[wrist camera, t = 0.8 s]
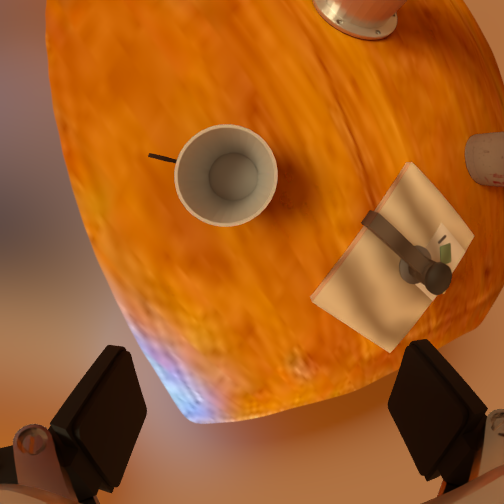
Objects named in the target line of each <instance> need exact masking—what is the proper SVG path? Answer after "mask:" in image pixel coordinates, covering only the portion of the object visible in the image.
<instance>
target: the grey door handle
mask: <svg viewBox="0 0 504 504" xmlns="http://www.w3.org/2000/svg"><path fill="white" fill-rule="evenodd" d="M361 223H362V224H363V225H364V226H365V227H366V228H368V229H369V230H370V231H371V232H372V233H373V234H375V235H376V236H377V237H378V238H379V239H380V240H381V241H383V242H384V243H385V244H386V245H387V246H388V247H389V248H390V249H392V250H393V251H394V252H395V253H396V254H397V255H398V256H399V257H400V258H401V259H403V260H404V261H405V262H406V263H407V264H408V265H409V267H408V270H409V274H410V275H411V276H412V277H413V278H415V279H416V280H418V281H419V282H420V283H422V284H423V285H425V287H426V289H427V290H428V291H429V292H430V293H432V294H434V295H439V294H444V293H445V292H446V289H447V288H448V287H449V285H450V282H451V279H452V272H451V269H450V267H449V266H448V265H446V264H444V263H442V262H435V261H433V260H431V259H429V258H427V257H425V256H423V255H422V254H421V253H420V252H419V251H418V250H417V249H416V248H415V247H414V246H413V245H412V244H411V243H410V242H409V241H408V240H407V239H406V238H405V237H404V236H403V235H402V234H401V233H400V232H399V231H398V230H397V229H396V228H395V227H394V226H393V225H392V224H390V223H389V222H388V221H387V220H386V219H385V218H384V217H383V216H382V215H381V214H379V213H378V212H374V211H371V210H370V211H369V212H368V214H367V215H366V217H365V218H364V219H363V221H362V222H361Z"/></svg>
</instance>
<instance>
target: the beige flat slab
mask: <svg viewBox="0 0 504 504" xmlns="http://www.w3.org/2000/svg"><path fill="white" fill-rule="evenodd" d="M374 212H378V213H379V214H381V215H382V216H383V217H384V218H385V219H386V220H387V221H388V222H389V223H390V224H392V225H393V226H394V227H395V228H396V229H397V230H398V231H399V232H400V233H401V234H402V235H403V236H404V237H405V238H406V239H407V240H408V241H409V242H410V243H411V244H412V245H413V246H414V247H415V248H416V249H417V250H418V251H419V252H420V253H421V254H422V255H423V256H425V257H427V258H429V259H431V260H433V261H435V262H442V263H444V264H446V265H448V266H449V267H450V269H451V272H452V273H453V271H454V270H455V268H456V267H457V265H458V263H459V262H460V260H461V259H462V257H463V255H464V254H465V251H466V250H467V248H468V246H469V244H470V243H471V241H472V239H473V237H474V235H473V233H472V232H471V230H470V229H469V228H468V226H467V225H466V224H465V222H464V221H463V220H462V219H461V217H460V216H459V215H458V213H457V212H456V211H455V210H454V208H453V207H452V206H451V205H450V204H449V202H448V201H447V200H446V199H445V198H444V196H443V195H442V194H441V193H440V192H439V191H438V189H437V188H436V187H435V186H434V185H433V184H432V183H431V182H430V180H429V179H428V178H427V177H426V176H425V175H424V174H423V173H422V172H421V171H420V170H419V169H418V168H417V167H416V166H415V164H414V163H413V162H406V164H405V165H404V167H403V168H402V170H401V171H400V173H399V175H398V176H397V178H396V179H395V181H394V182H393V184H392V185H391V187H390V188H389V190H388V191H387V193H386V194H385V196H384V197H383V199H382V200H381V202H380V203H379V205H378V206H377V208H376V209H375V211H374ZM408 267H409V265H408V264H407V263H406V262H405V261H404V260H403V259H401V258H400V257H399V256H398V255H397V254H396V253H395V252H394V251H393V250H392V249H390V248H389V247H388V246H387V245H386V244H385V243H384V242H383V241H381V240H380V239H379V238H378V237H377V236H376V235H375V234H373V233H372V232H371V231H370V230H369V229H368V228H366V227H365V226H363V228H362V229H361V231H360V232H359V233H358V235H357V236H356V238H355V239H354V240H353V242H352V243H351V244H350V246H349V247H348V248H347V250H346V251H345V253H344V254H343V255H342V257H341V258H340V259H339V261H338V262H337V263H336V265H335V266H334V267H333V268H332V270H331V271H330V272H329V274H328V275H327V276H326V278H325V279H324V280H323V281H322V283H321V284H320V285H319V286H318V288H317V289H316V290H315V292H314V293H313V294H312V295H311V297H310V298H311V301H312V302H313V303H315V304H316V305H318V306H319V307H321V308H322V309H324V310H325V311H327V312H328V313H330V314H331V315H333V316H334V317H336V318H337V319H339V320H340V321H342V322H343V323H345V324H346V325H348V326H349V327H351V328H352V329H354V330H355V331H357V332H359V333H360V334H362V335H363V336H365V337H366V338H368V339H369V340H371V341H372V342H374V343H375V344H377V345H378V346H380V347H381V348H383V349H385V350H386V351H388V352H389V353H391V352H392V350H393V349H394V348H395V347H396V346H397V345H398V344H399V342H400V341H401V340H402V339H403V338H404V337H405V335H406V334H407V333H408V332H409V331H410V329H411V328H412V327H413V326H414V324H415V323H416V322H417V321H418V319H419V318H420V317H421V316H422V314H423V313H424V312H425V310H426V309H427V308H428V306H429V305H430V304H431V302H432V301H433V300H434V299H435V297H436V296H437V295H434V294H432V293H430V292H429V291H428V290H427V289H426V287H425V285H423V284H422V283H420V282H419V281H418V280H416V279H415V278H413V277H412V276H411V275H410V274H409V270H408Z"/></svg>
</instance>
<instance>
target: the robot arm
mask: <svg viewBox="0 0 504 504" xmlns="http://www.w3.org/2000/svg"><path fill="white" fill-rule="evenodd" d="M312 1H313V3H314V6H315V8H316V10H317V11H318V13H319V14H320V15H321V16H322V17H323V19H325V20H326V21H327V22H328V23H329V24H330V25H332V26H333V27H335V28H336V29H338V30H340V31H342V32H344V33H346V34H348V35H351V36H353V37H357V38H361V39H367V40H378V39H382V38H385V37H387V36H388V35H390V34H391V33H392V32H393V31H394V29H395V28H396V25H397V13H396V11H397V10H398V9H399V8H400V7H401V6H402V5H403V4H404V3H405V2H406V1H407V0H312ZM388 409H389V411H390V413H391V416H392V417H393V419H394V421H395V423H396V425H397V427H398V429H399V431H400V434H401V436H402V437H403V439H404V442H405V444H406V446H407V448H408V450H409V452H410V454H411V456H412V458H413V460H414V463H415V465H416V467H417V469H418V471H419V473H420V474H421V475H422V476H425V479H426V481H430V480H432V479H434V478H437V477H439V476H440V475H441V476H442V478H443V481H442V484H441V487H440V490H439V493H438V495H437V497H436V498H434V499H431V500H429V501H427V502H424V503H422V504H504V409H497V410H494V411H492V412H491V413H490V414H489V415H488V416H486V415H485V412H486V411H487V409H488V408H487V407H486V405H485V404H484V403H483V402H482V401H481V400H480V398H479V397H478V396H477V395H476V394H475V392H473V390H472V389H471V388H470V386H469V385H468V384H467V383H466V382H465V381H464V379H463V378H462V377H461V376H460V375H459V374H458V373H457V372H456V370H455V369H454V368H453V367H452V366H451V365H450V364H449V363H448V362H447V360H446V359H445V358H444V357H443V356H442V355H441V354H440V353H439V352H438V350H437V349H436V348H435V347H434V346H433V345H432V344H431V343H430V342H429V341H428V340H427V339H423V340H417V341H412V342H411V343H410V344H409V346H407V347H406V349H405V352H404V356H403V359H402V362H401V366H400V369H399V372H398V375H397V378H396V381H395V384H394V387H393V390H392V392H391V395H390V398H389V401H388ZM146 414H147V408H146V404H145V401H144V398H143V395H142V392H141V388H140V385H139V382H138V378H137V375H136V372H135V368H134V364H133V361H132V357H131V354H130V352H128V351H126V349H125V348H124V347H121V346H113V345H108V346H107V347H106V348H105V349H104V350H103V352H102V353H101V354H100V355H99V357H98V358H97V359H96V361H95V362H94V363H93V365H92V366H91V367H90V369H89V370H88V371H87V372H86V374H85V375H84V377H83V378H82V379H81V381H80V382H79V383H78V385H77V386H76V387H75V389H74V390H73V391H72V393H71V394H70V396H69V397H68V398H67V400H66V401H65V402H64V404H63V405H62V407H61V408H60V409H59V411H58V413H57V414H56V415H55V417H54V418H53V419H52V421H51V422H50V425H51V426H50V428H49V429H47V428H46V427H44V426H42V425H38V424H30V425H27V426H24V427H23V428H21V429H19V431H18V432H17V433H16V434H15V436H14V439H13V445H12V446H8V447H4V448H0V504H100V502H99V500H98V498H97V496H96V495H97V492H98V490H99V489H100V490H103V491H106V492H109V493H112V492H113V489H114V487H118V486H119V485H120V482H121V480H122V477H123V474H124V472H125V469H126V466H127V464H128V461H129V458H130V456H131V453H132V451H133V448H134V445H135V443H136V440H137V438H138V435H139V433H140V430H141V428H142V425H143V423H144V420H145V418H146Z"/></svg>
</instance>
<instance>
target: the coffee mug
mask: <svg viewBox="0 0 504 504" xmlns="http://www.w3.org/2000/svg"><path fill="white" fill-rule="evenodd" d="M148 157H151V158H155V159H159V160H163V161H167V162H173V163H176V166H175V171H174V182H175V187H176V191H177V194H178V196H179V198H180V201H181V202H182V204H183V205H184V206H185V208H186V209H187V210H188V211H189V212H190V213H191V214H192V215H193V216H195V217H196V218H198V219H199V220H201V221H203V222H205V223H208V224H210V225H215V226H220V227H230V226H236V225H240V224H243V223H245V222H248V221H250V220H252V219H253V218H255V217H256V216H258V215H259V214H260V213H261V212H262V211H263V210H264V209H265V208H266V207H267V205H268V204H269V202H270V201H271V200H272V197H273V195H274V193H275V190H276V186H277V181H278V169H277V164H276V160H275V157H274V155H273V152H272V150H271V149H270V147H269V146H268V144H267V143H266V142H265V141H264V140H263V139H262V138H261V137H260V136H259V135H258V134H256V133H254V132H253V131H251V130H249V129H247V128H244V127H242V126H237V125H231V124H226V125H217V126H212V127H209V128H207V129H204V130H202V131H200V132H199V133H197V134H196V135H194V136H193V137H192V138H191V139H190V140H189V141H188V142H187V143H186V144H185V146H184V147H183V149H182V150H181V152H180V154H179V156H178V159H177V160H176V159H172V158H169V157H165V156H160V155H156V154H151V153H149V155H148Z"/></svg>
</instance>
